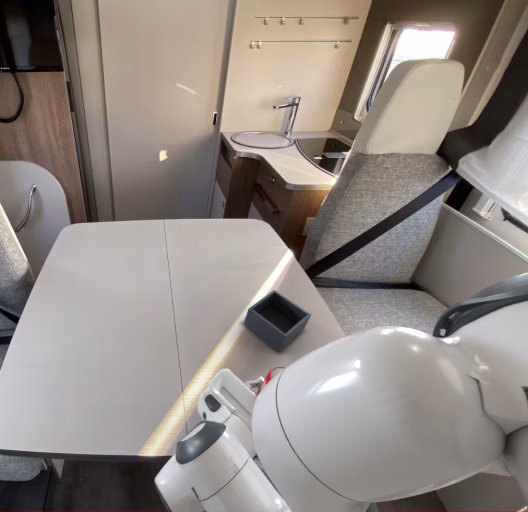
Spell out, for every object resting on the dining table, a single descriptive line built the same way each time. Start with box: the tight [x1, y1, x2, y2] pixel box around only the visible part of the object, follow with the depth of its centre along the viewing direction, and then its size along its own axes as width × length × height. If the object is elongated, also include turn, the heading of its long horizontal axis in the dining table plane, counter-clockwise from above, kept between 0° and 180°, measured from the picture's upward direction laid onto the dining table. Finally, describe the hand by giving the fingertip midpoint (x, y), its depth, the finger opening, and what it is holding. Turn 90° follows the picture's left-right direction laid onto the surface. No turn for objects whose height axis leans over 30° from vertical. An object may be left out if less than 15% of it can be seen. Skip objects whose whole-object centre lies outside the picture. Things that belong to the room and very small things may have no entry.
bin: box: [243, 289, 312, 353], centre depth 84 cm, size 11×11×7 cm
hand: (277, 393), depth 62 cm, fingers closed on beverage can, 5 cm apart
